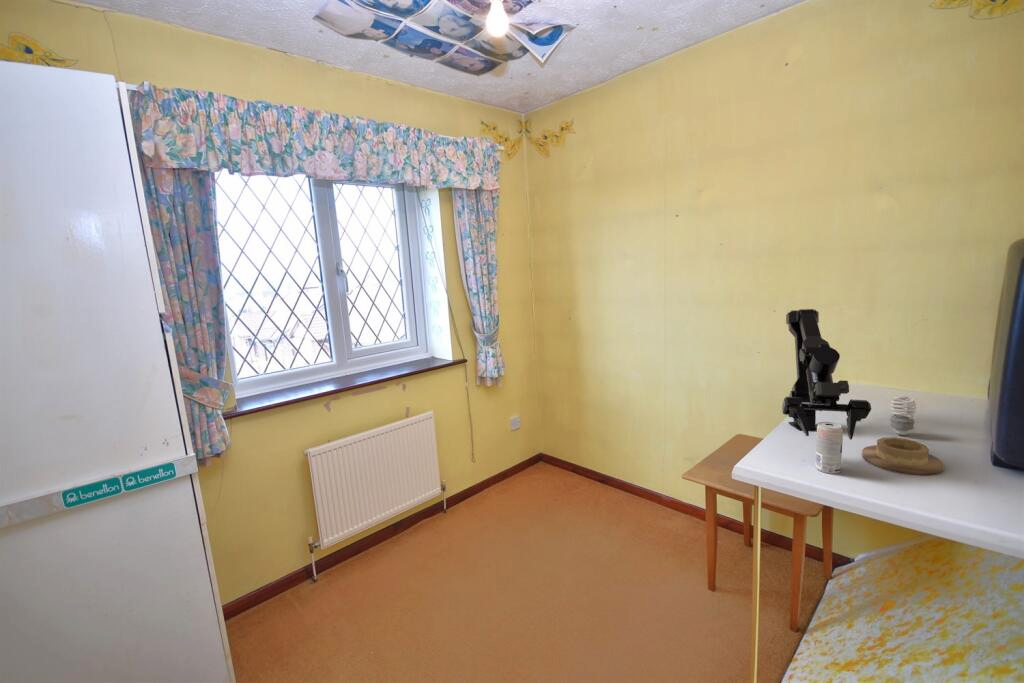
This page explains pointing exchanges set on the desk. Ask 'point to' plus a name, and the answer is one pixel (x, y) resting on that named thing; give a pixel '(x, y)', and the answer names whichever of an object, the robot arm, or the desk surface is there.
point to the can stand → (903, 457)
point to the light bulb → (903, 421)
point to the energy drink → (829, 447)
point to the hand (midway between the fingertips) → (829, 437)
